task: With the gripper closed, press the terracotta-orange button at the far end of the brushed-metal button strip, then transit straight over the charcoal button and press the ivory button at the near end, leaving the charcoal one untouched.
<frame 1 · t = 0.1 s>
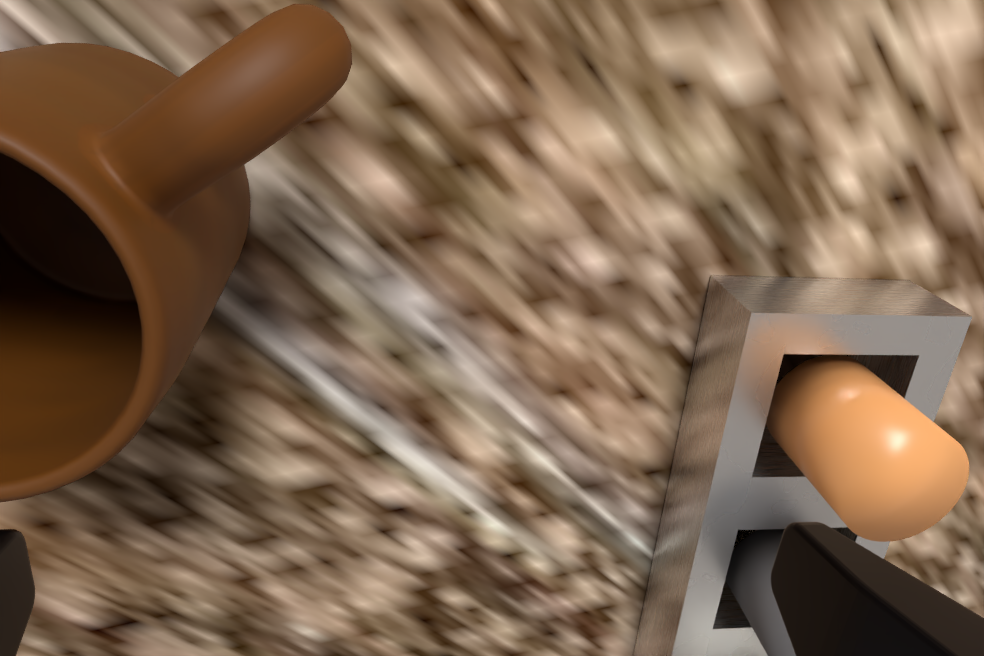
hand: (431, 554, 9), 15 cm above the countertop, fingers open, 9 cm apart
button charcoal: (804, 609, 25), point 4 cm above the countertop, slide at 0.0 cm
button strip: (747, 522, 29), on the countertop
mug: (178, 138, 21), on the countertop
button orange: (858, 442, 22), point 4 cm above the countertop, slide at 0.0 cm
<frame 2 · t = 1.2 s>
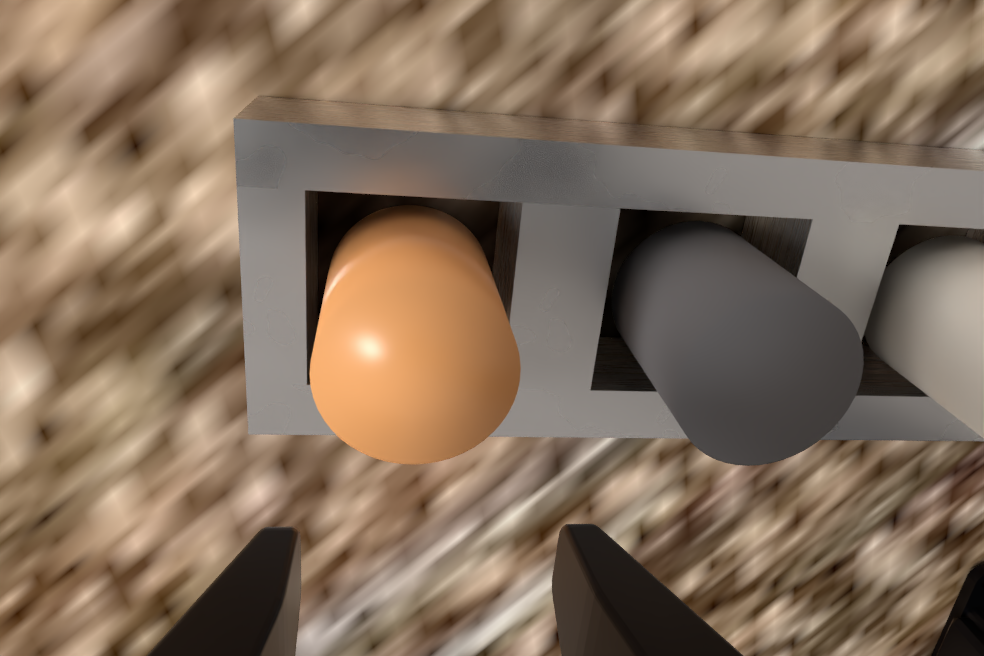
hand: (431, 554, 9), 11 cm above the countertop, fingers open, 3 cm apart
button charcoal: (722, 333, 16), point 4 cm above the countertop, slide at 0.0 cm
button strip: (655, 262, 20), on the countertop
button orange: (413, 323, 15), point 4 cm above the countertop, slide at 0.0 cm
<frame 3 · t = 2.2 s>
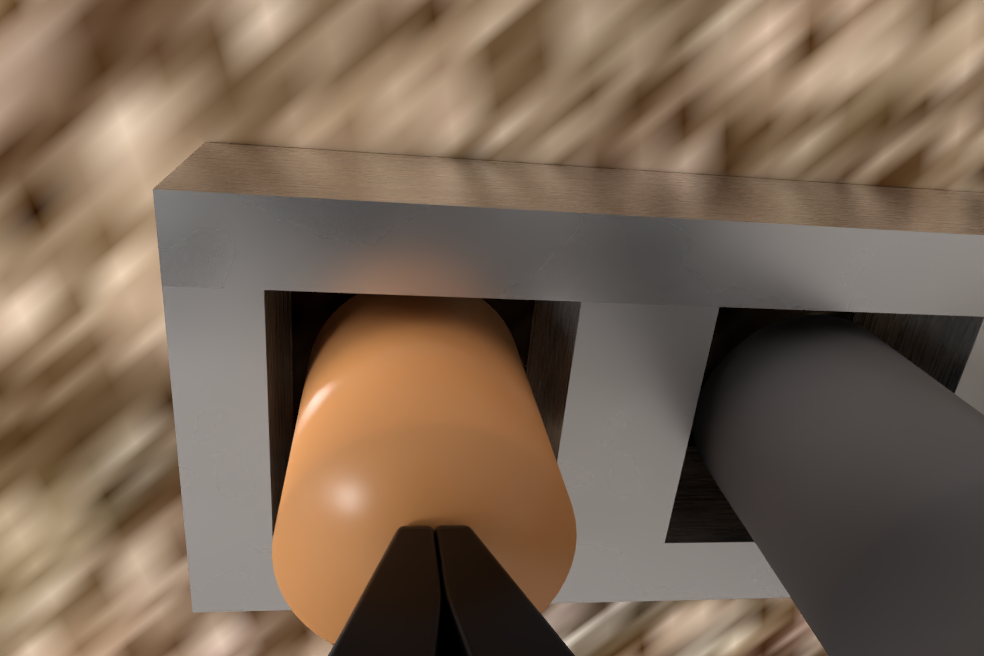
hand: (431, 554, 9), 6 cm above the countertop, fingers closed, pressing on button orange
button charcoal: (866, 486, 11), point 4 cm above the countertop, slide at 0.0 cm
button strip: (740, 353, 15), on the countertop
button orange: (420, 449, 11), point 3 cm above the countertop, slide at 0.9 cm, touching gripper
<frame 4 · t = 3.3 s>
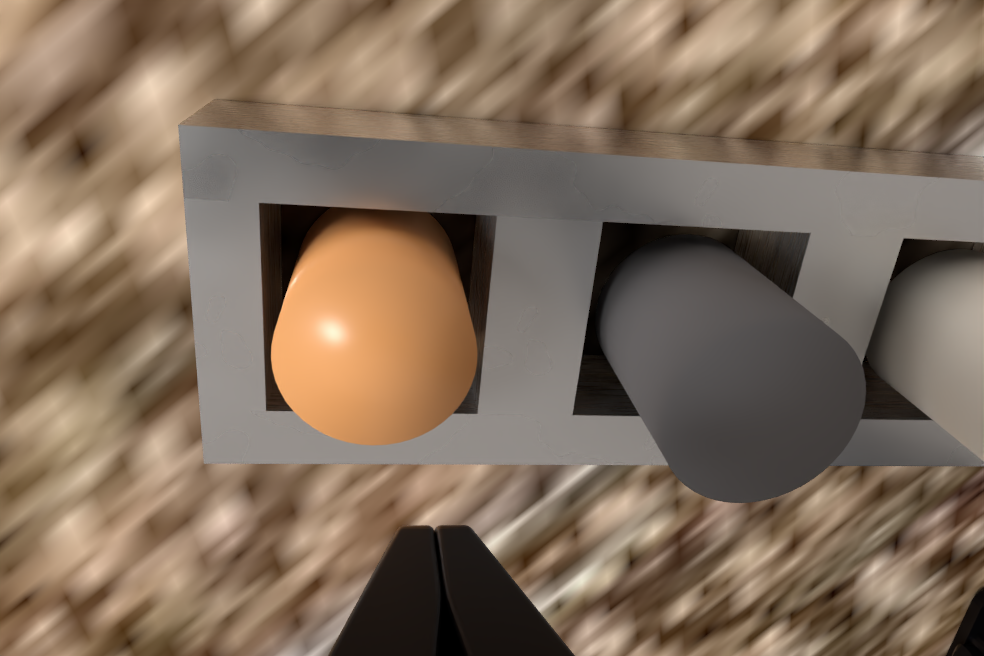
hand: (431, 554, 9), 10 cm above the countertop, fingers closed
button charcoal: (713, 357, 15), point 4 cm above the countertop, slide at 0.0 cm
button strip: (643, 276, 19), on the countertop
button orange: (377, 309, 15), point 3 cm above the countertop, slide at 1.8 cm
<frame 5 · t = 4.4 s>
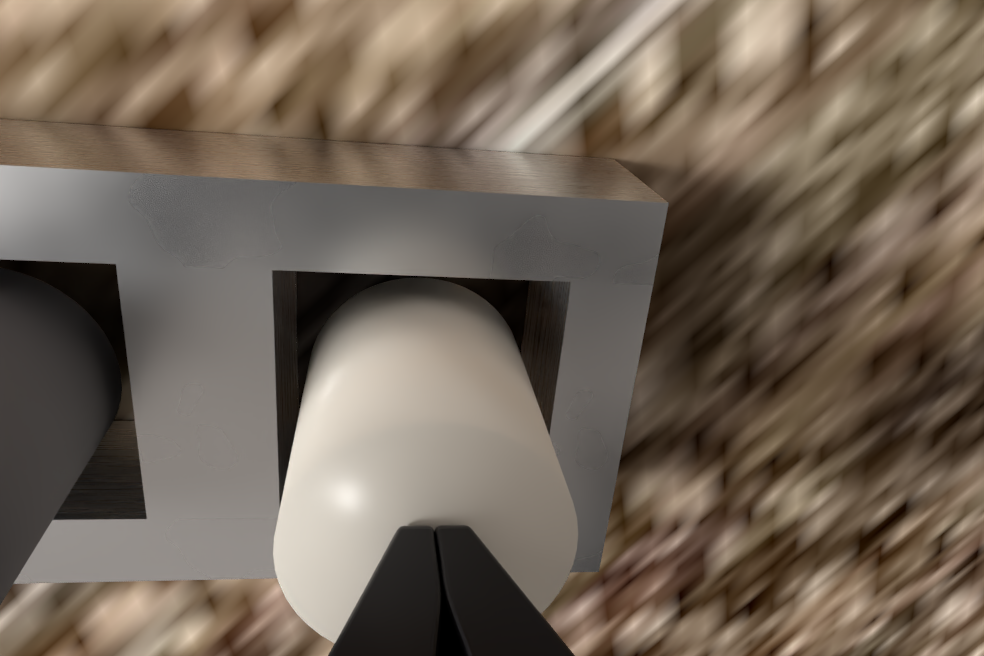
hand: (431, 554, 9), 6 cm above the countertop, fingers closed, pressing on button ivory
button ivory: (421, 447, 11), point 4 cm above the countertop, slide at 0.2 cm, touching gripper
button strip: (54, 316, 14), on the countertop
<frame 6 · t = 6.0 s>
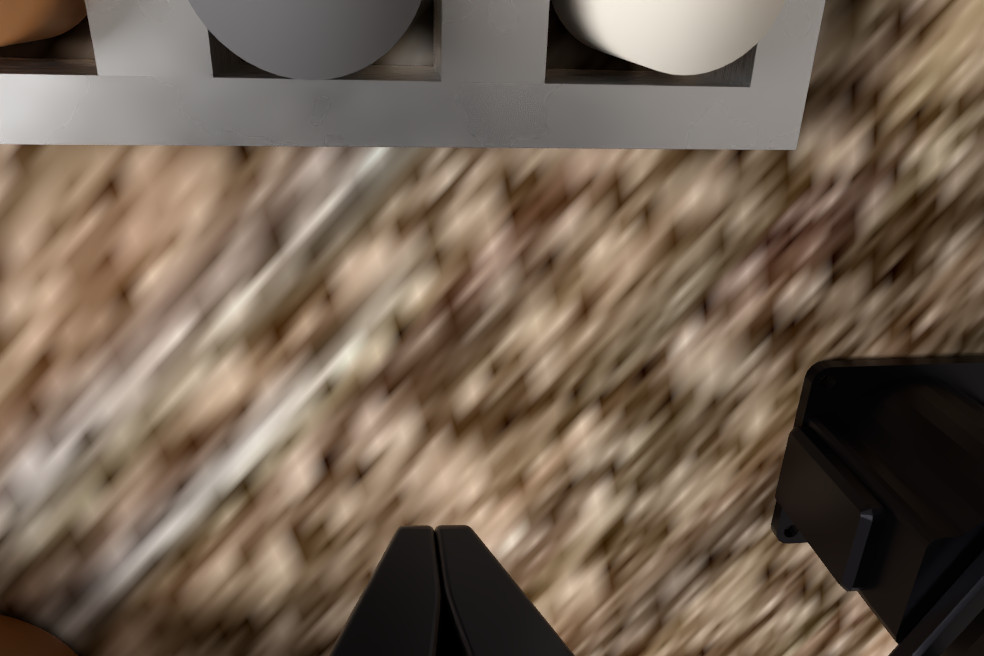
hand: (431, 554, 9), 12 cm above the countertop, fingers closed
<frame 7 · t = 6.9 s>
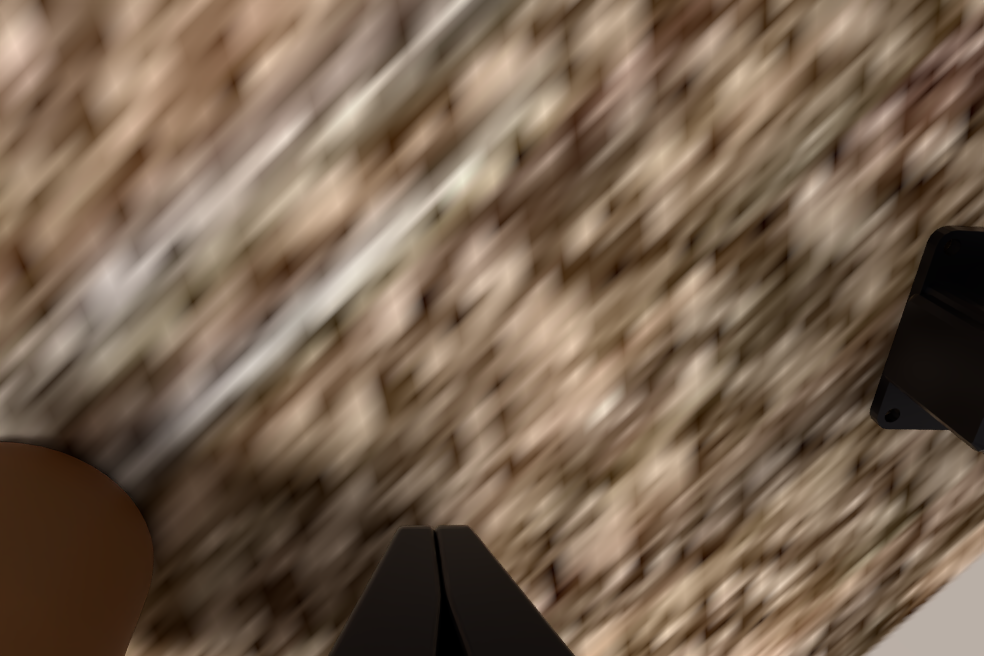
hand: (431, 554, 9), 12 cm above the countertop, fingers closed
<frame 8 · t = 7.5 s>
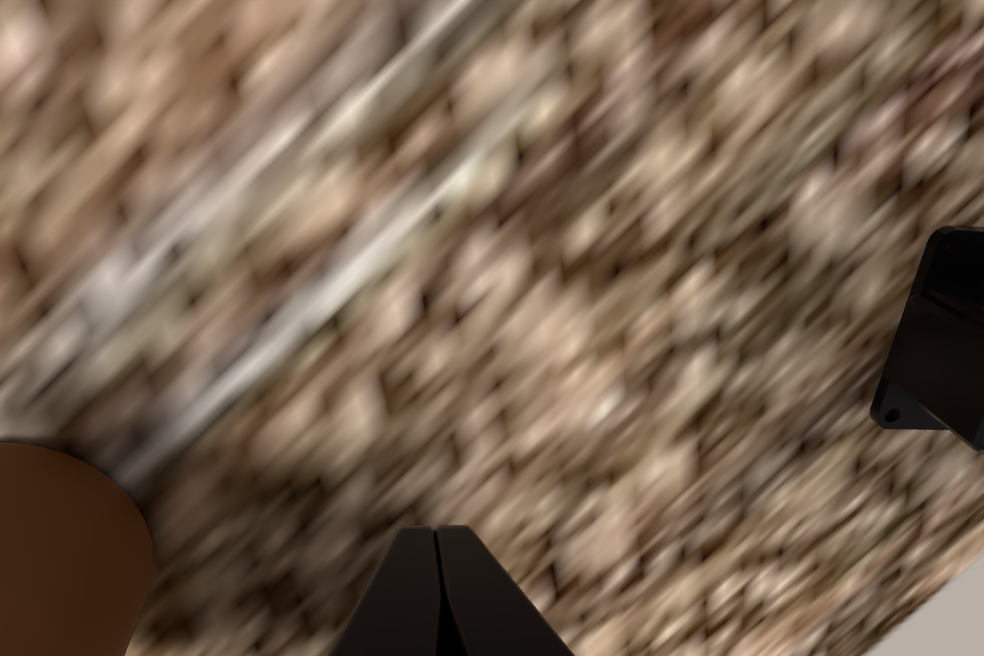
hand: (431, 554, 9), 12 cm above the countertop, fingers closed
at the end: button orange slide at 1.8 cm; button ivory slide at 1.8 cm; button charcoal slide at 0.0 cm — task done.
